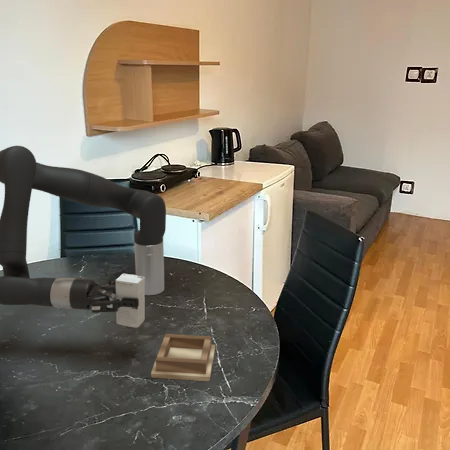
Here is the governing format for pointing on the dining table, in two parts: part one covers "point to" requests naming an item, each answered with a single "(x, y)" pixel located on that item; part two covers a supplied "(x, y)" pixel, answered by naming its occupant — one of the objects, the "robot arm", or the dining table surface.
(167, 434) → the dining table surface
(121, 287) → the skincare box
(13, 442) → the dining table surface
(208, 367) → the socket board
